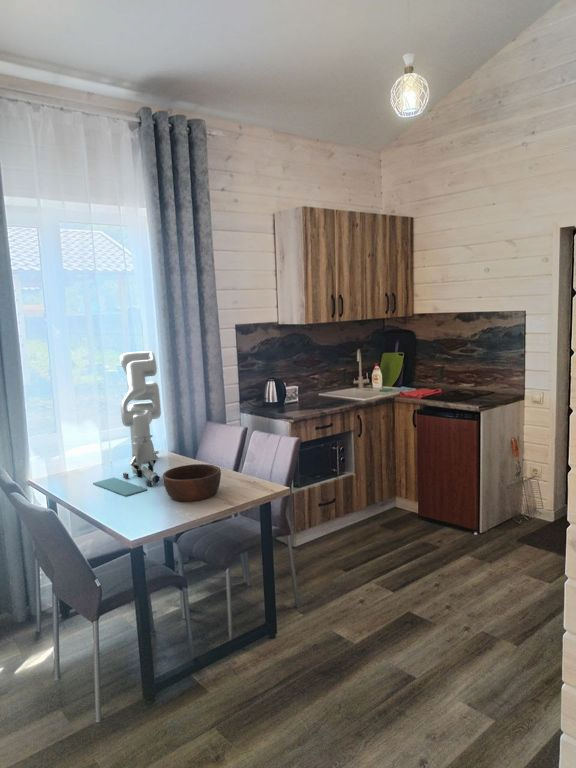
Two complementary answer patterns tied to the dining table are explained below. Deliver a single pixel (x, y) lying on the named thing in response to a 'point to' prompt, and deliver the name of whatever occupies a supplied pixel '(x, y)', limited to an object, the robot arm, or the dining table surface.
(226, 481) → the dining table surface
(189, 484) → the wooden bowl
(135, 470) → the grey tube
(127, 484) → the mat
